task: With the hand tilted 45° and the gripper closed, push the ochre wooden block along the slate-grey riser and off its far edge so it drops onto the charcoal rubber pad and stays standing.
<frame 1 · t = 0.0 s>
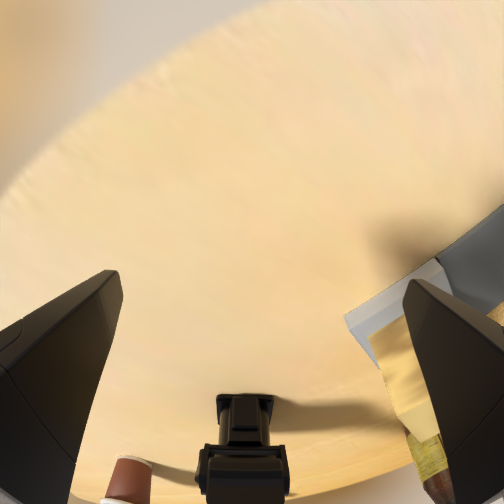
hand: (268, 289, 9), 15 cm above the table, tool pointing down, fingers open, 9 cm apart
sauce bottle: (421, 421, 41), on the table
rubber pad: (490, 266, 27), on the table
riser: (409, 324, 30), on the table
coffee cup: (135, 461, 46), on the table
ochre block: (416, 336, 28), point 2 cm above the table, touching riser
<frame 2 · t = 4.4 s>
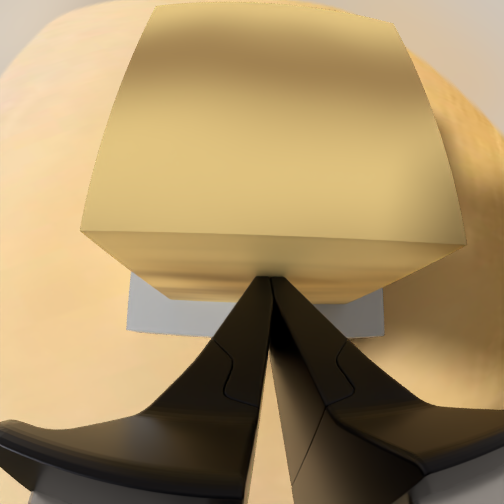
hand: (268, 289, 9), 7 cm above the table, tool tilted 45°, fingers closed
riser: (257, 243, 17), on the table
ochre block: (260, 219, 16), point 2 cm above the table, touching riser
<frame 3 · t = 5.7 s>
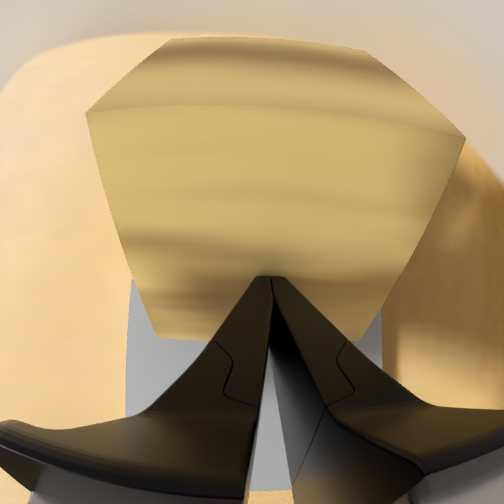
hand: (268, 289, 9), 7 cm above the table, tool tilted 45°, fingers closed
riser: (254, 388, 15), on the table
ochre block: (258, 262, 15), point 2 cm above the table, tilted 26°
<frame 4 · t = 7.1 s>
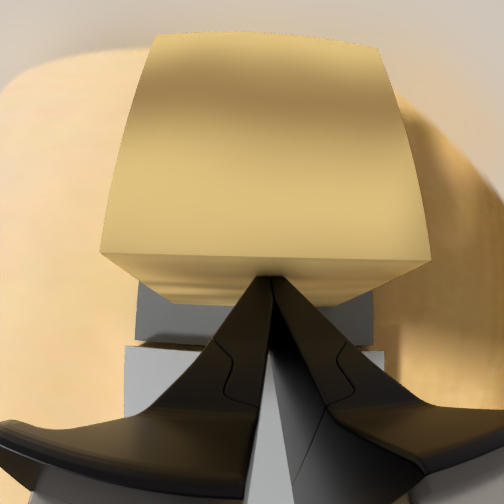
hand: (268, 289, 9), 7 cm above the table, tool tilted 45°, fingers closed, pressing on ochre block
rubber pad: (257, 241, 17), on the table
riser: (252, 446, 14), on the table
ochre block: (255, 228, 17), point 1 cm above the table, touching gripper, rubber pad
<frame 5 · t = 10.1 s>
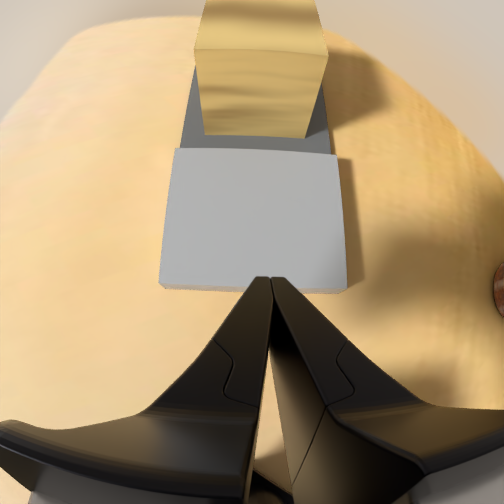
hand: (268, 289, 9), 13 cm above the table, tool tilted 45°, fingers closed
rubber pad: (256, 108, 26), on the table
riser: (254, 222, 23), on the table
ochre block: (255, 100, 26), point 1 cm above the table, touching rubber pad
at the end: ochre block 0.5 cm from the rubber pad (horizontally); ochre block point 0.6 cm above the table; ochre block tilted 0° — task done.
